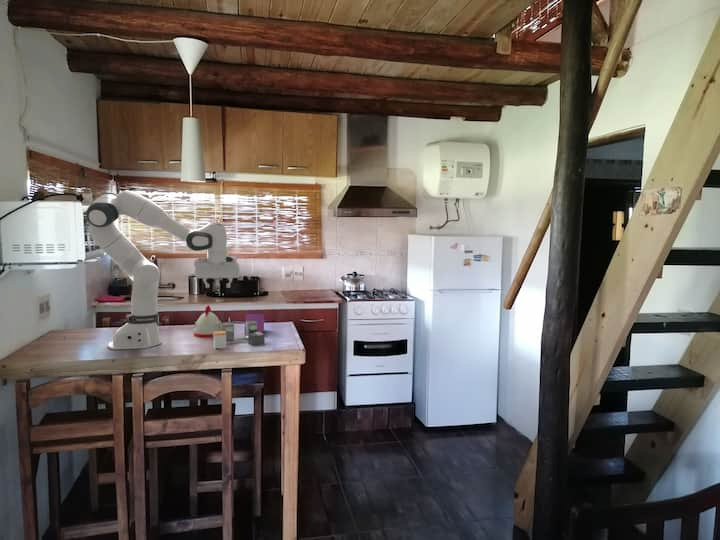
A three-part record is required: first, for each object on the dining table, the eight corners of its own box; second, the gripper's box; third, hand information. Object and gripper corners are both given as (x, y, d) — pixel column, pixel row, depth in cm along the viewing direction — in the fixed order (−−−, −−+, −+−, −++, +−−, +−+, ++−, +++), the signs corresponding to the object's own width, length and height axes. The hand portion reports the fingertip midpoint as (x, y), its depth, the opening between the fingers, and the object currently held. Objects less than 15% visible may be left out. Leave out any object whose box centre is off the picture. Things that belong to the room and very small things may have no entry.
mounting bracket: (263, 347, 246) (264, 326, 261) (263, 334, 242) (264, 313, 257) (244, 348, 244) (246, 326, 260) (243, 335, 240) (245, 313, 255)
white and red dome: (190, 337, 240) (190, 307, 238) (198, 331, 253) (198, 303, 252) (218, 337, 240) (218, 308, 239) (225, 331, 254) (225, 303, 253)
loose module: (214, 348, 219) (214, 333, 218) (213, 346, 222) (213, 331, 222) (226, 347, 221) (226, 332, 220) (224, 345, 225) (224, 330, 224)
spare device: (252, 346, 225) (252, 335, 225) (248, 343, 230) (248, 332, 229) (264, 344, 229) (264, 333, 228) (260, 342, 233) (260, 331, 233)
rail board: (220, 344, 227) (220, 325, 226) (217, 341, 233) (217, 323, 232) (262, 341, 235) (262, 322, 235) (258, 337, 242) (258, 320, 241)
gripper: (192, 258, 218) (193, 288, 219) (238, 258, 220) (239, 288, 222) (195, 257, 224) (196, 287, 225) (240, 257, 227) (240, 286, 228)
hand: (217, 287), depth 224 cm, fingers open, 8 cm apart
